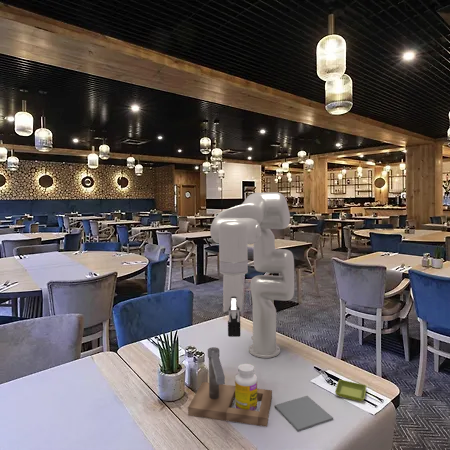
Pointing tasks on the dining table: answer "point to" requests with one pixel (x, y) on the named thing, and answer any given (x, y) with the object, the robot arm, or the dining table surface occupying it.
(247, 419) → the collar stand
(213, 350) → the retention bar
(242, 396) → the supplement bottle
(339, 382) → the olive square tray
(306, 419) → the coaster pad
